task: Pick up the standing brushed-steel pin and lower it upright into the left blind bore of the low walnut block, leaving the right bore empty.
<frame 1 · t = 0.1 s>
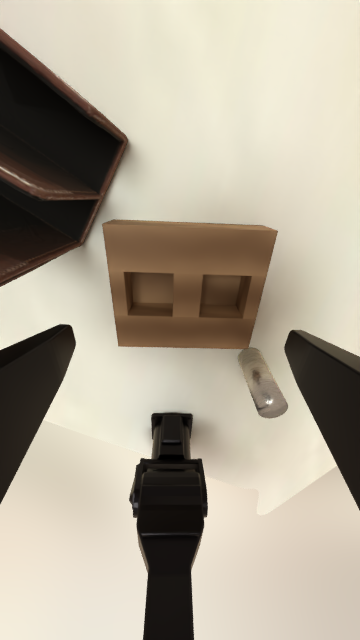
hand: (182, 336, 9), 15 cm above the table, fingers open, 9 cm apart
pin: (249, 356, 28), on the table
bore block: (185, 283, 23), on the table
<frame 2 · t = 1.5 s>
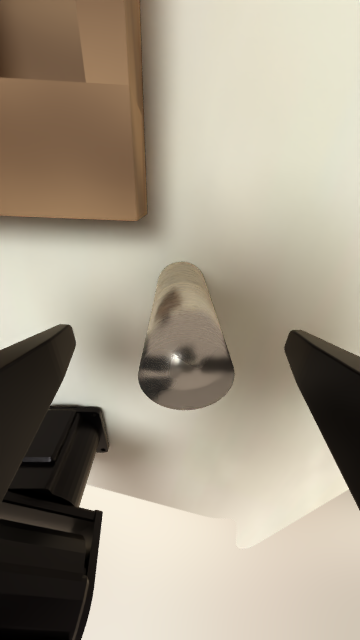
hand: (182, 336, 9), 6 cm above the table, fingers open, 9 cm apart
pin: (181, 285, 14), on the table
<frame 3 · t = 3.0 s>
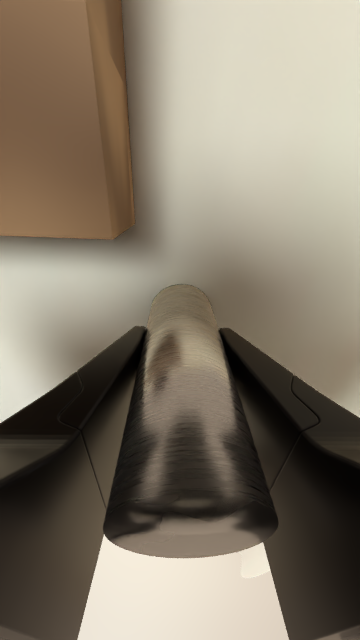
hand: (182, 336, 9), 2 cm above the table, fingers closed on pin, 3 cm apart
pin: (181, 312, 11), on the table, touching gripper
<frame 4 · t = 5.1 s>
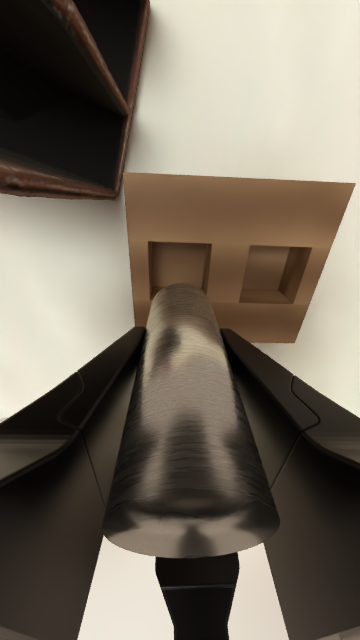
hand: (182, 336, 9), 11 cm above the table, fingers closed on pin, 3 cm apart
pin: (181, 311, 11), point 9 cm above the table, touching gripper
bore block: (218, 262, 19), on the table
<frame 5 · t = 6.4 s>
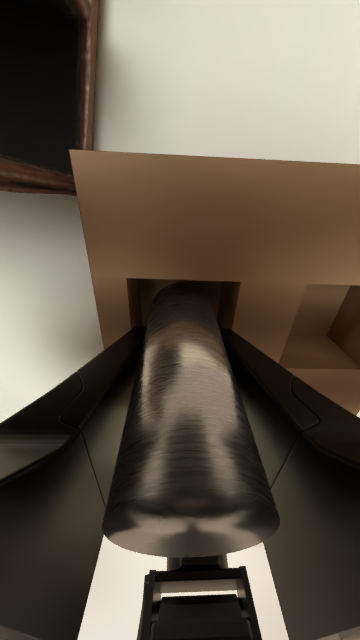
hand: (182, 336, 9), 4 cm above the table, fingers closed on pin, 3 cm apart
pin: (181, 311, 11), point 2 cm above the table, touching gripper
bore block: (240, 297, 12), on the table
when the fingers open (4 cm above the table, at t = 7.0 s): pin drops 1 cm, resting on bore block.
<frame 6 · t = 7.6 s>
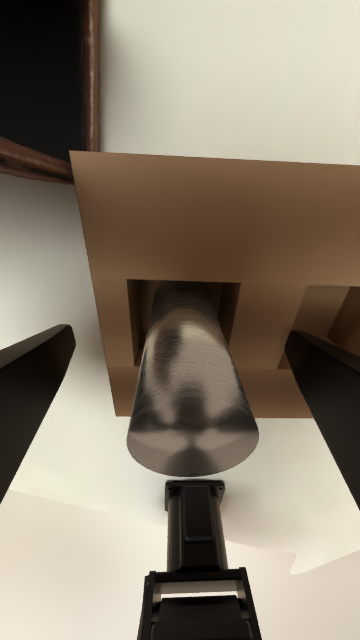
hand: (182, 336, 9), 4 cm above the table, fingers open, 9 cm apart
pin: (181, 299, 12), point 1 cm above the table, touching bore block
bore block: (240, 298, 12), on the table
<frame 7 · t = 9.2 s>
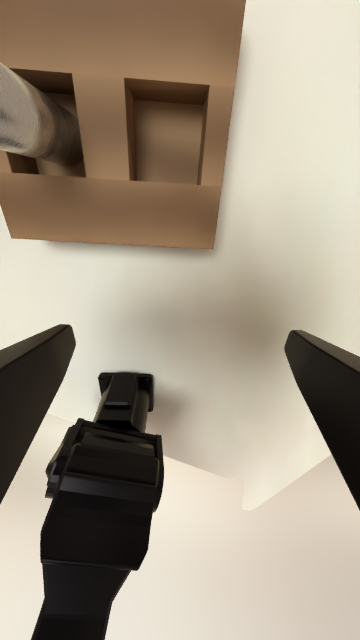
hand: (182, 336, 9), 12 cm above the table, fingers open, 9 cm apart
pin: (63, 138, 14), point 1 cm above the table, touching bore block
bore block: (118, 144, 15), on the table
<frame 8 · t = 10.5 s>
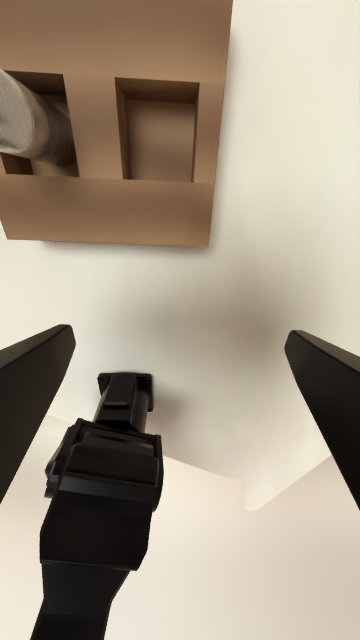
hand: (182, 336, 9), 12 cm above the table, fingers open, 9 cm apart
pin: (57, 139, 14), point 1 cm above the table, touching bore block
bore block: (111, 144, 15), on the table
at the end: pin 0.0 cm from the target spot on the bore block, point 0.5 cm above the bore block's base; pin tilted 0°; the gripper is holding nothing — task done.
